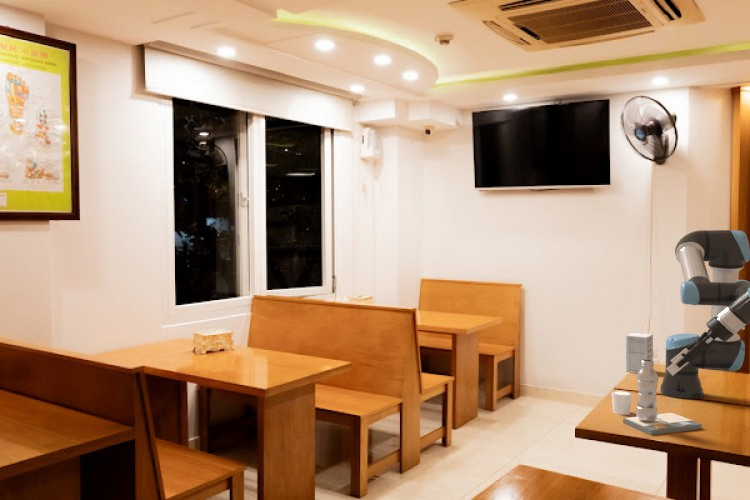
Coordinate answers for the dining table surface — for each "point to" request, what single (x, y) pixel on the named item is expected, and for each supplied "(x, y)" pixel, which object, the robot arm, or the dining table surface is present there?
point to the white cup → (621, 402)
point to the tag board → (663, 424)
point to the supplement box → (638, 350)
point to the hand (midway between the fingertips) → (671, 367)
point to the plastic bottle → (647, 391)
